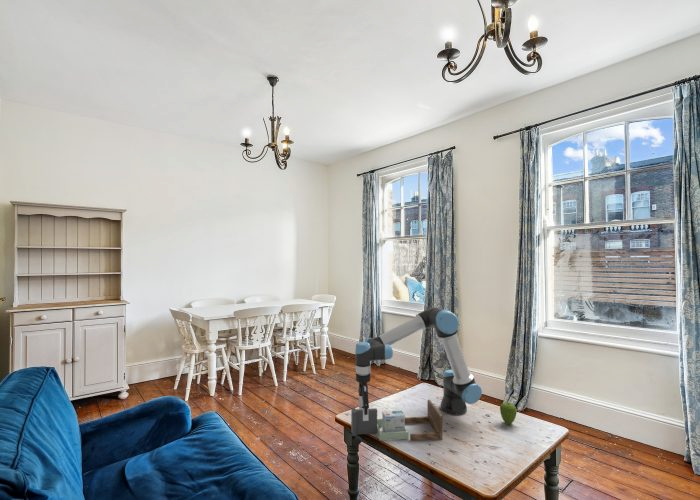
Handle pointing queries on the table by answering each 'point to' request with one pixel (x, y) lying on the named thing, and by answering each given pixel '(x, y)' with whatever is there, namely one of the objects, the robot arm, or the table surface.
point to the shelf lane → (433, 419)
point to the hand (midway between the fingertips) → (363, 414)
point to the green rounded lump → (508, 412)
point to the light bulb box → (393, 421)
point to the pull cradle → (372, 425)
